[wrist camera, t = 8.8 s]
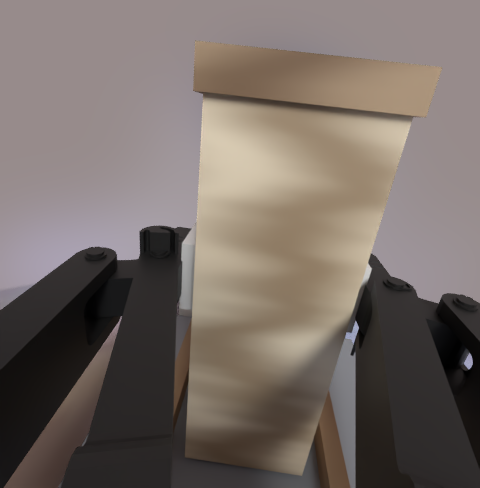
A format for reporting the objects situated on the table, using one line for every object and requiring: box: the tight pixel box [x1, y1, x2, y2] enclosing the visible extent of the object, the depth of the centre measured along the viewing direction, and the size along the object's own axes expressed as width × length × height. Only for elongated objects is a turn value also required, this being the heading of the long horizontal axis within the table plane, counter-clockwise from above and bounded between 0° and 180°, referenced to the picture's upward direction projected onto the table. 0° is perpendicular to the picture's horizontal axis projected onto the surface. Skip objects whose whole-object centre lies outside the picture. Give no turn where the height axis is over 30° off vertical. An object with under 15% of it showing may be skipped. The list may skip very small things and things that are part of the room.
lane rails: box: [173, 318, 350, 488], centre depth 12 cm, size 8×21×1 cm, turn 175°
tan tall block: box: [185, 41, 442, 476], centre depth 13 cm, size 5×8×15 cm, turn 175°
